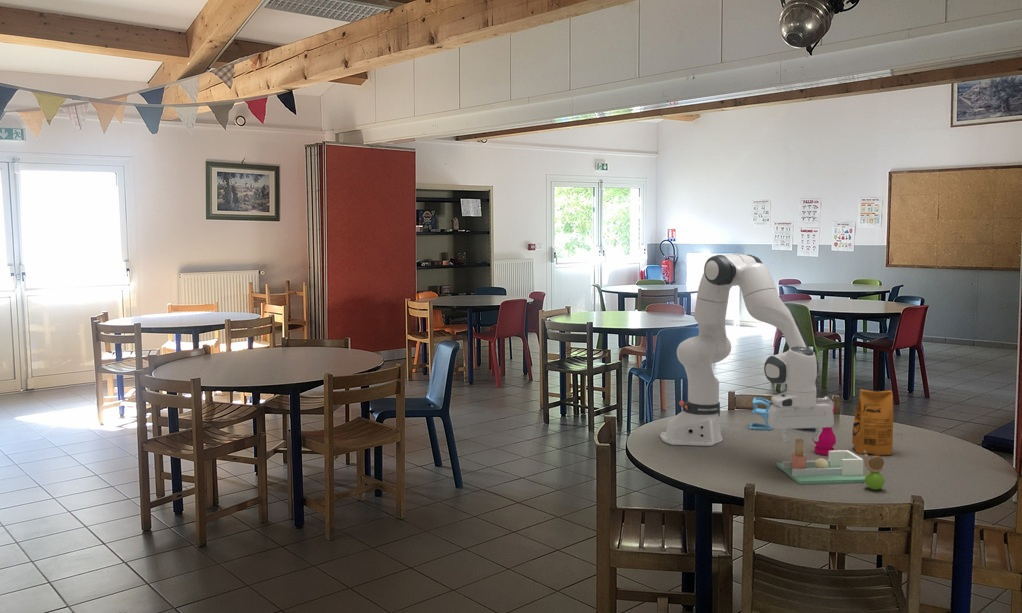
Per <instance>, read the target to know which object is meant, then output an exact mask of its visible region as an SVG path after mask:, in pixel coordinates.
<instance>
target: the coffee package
mask: <svg viewBox="0 0 1022 613" xmlns="http://www.w3.org/2000/svg"><path fill="white" fill-rule="evenodd" d="M893 394H894V393H893V391H892V390H882V391H873V390H866V389H861V388H859V397H858V401H857V405H856V408H855V409H856V410H855V412H854V420H853V423H852V424H853V425H852V433H851V434H852V437H851V438H852V441H851V442H852V444H853V449H854V452H855V453H857V454H859V455H865V452H863V451H866V454H867V455H868V454H870V455H873V456H891V455H892V454H893V442H894V440H893V437H894V431H893V430H894V403H893V398H894V395H893Z"/></svg>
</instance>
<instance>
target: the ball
mask: <svg viewBox="0 0 1022 613" xmlns="http://www.w3.org/2000/svg"><path fill="white" fill-rule="evenodd" d="M815 461H816V462H815V467H816V468H828V462H827V461H826V459H825V458H818V459H816V460H815Z"/></svg>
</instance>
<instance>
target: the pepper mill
mask: <svg viewBox="0 0 1022 613" xmlns="http://www.w3.org/2000/svg"><path fill="white" fill-rule="evenodd" d="M823 398H829V397H828V396H824V397H823ZM835 406H836V405H834V407H833V414H834V413H836V412H835V411H836V407H835ZM832 427H833V426H832ZM832 427H825V428H822V432H821V434H820V435H819V441H813V444H815V446H814V453H816V454H818V455H821V456H828V455H829V451H835V448H834V446H835V445H836V441H837V440H836V439H837V438H836V436H835V433H834V430H833V428H832Z"/></svg>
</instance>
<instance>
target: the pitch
mask: <svg viewBox="0 0 1022 613" xmlns="http://www.w3.org/2000/svg"><path fill="white" fill-rule="evenodd" d="M827 456H828V457H827V458H828V459H827V460H826V459H825V460H826V461H827V462H828V468H816V467H815V462H816V460H806V469H792V468H791V466H792V460H791V461H790V460H789V461H788V460H787V461H786V460H783V461H782V462H777V463H776V467H777V468H779V469H780V470H781V471H782V472H783V473H785V474H786V475H787V476H789V477H790V478H791V479H792V480H794V481H795V482H796V483H797V484H799V485H813V484H814V485H818V484H819V485H820V484H823V485H824V484H826V485H827V484H856V483H857V484H859V483H863V484H864V483H865V476H866V475H864V458H861V457H860V456H858V455H857V454H855V453H854V452H852V451H850V450H848V449H847V450H846V449H845V450H839V449H837V450H834V451H829V455H827ZM865 484H866V483H865Z"/></svg>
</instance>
